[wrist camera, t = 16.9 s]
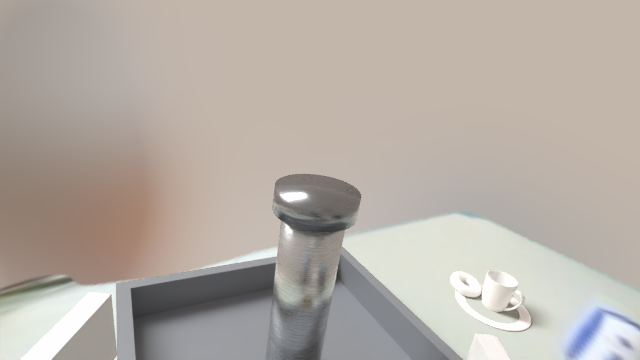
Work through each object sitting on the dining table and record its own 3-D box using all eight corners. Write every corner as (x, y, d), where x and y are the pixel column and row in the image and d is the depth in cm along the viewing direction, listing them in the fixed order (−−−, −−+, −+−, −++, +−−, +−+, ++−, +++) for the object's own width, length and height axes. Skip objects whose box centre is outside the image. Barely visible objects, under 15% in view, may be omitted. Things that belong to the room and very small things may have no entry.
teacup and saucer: (437, 283, 43) (446, 254, 42) (492, 282, 45) (502, 254, 44) (482, 336, 35) (494, 303, 34) (547, 333, 37) (561, 301, 36)
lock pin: (305, 340, 29) (332, 172, 24) (338, 392, 25) (378, 203, 20) (245, 359, 27) (262, 175, 22) (270, 420, 23) (298, 211, 18)
